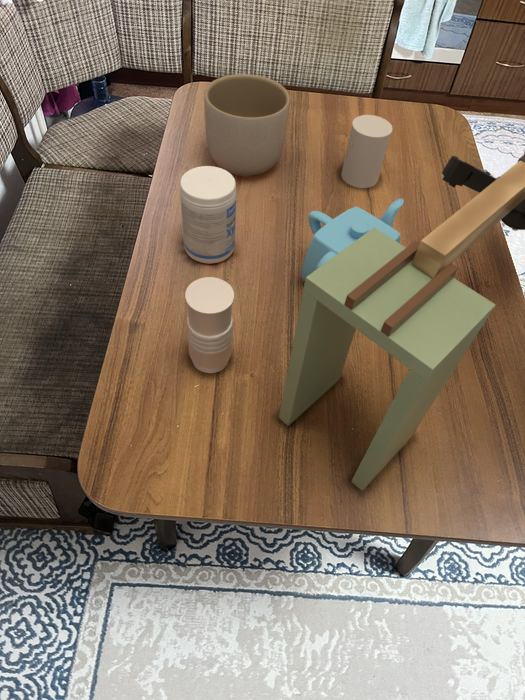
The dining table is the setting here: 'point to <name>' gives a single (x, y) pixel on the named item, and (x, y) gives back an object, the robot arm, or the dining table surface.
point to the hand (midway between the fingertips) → (497, 195)
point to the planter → (245, 122)
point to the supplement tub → (208, 213)
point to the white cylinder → (366, 150)
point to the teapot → (344, 233)
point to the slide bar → (471, 221)
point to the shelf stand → (381, 334)
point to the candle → (210, 323)
